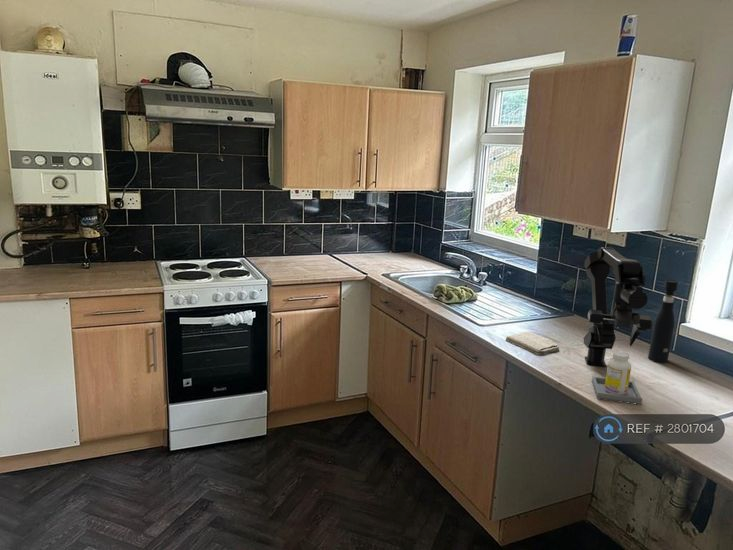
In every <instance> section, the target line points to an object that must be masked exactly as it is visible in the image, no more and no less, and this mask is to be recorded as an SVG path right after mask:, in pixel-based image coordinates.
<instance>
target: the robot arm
mask: <svg viewBox="0 0 733 550" xmlns="http://www.w3.org/2000/svg"><path fill="white" fill-rule="evenodd" d="M584 268H585V273H586V276H587V277H588V279H589V280H590V281H591V296H592V299H591V300H592V301H591V302H592V309H589V310H588V312H587V319H588V322H589V323H590V325H589V327H588V332H587V333H586V334H585V335H584V337H583V344H584V346H585V347H586V348H587V355H586V356H584V359H585V363H586V365H589V366H590V365H591V366H597V367H599V366H600V367H605V368H607V364H606V361H605V358H606V353H607V350H612V349H613V347H614V344H615V341H616V338H617V337H616V334H615V327H617V328H626V329H631V328H632V329H631V330H632V331H631V334H630V337H629V346H630V347H632V346H633V344H634V342H635V341H636V339H637V338H638V336H639V335H640V334H641V333H642V332H647V331H648V330H653V326H654V321H653V320H652V318H651V317H650V316H649V315H643V314H641V313H640V312H633V311H632V310H633V309H635V310H639V309H643V308H644V307H645V306H646V305H647V303H648V295H647V294H646V293H645V292H644V291H643V289H644V287H643V286H645V281H646V278H645V277H646V276H645V273H644V269H643V266H642V264H641V262H640V261H639V260H635V259H629V258H626V257H624V256H623V255H622V254H620V252H618V251H616V248H613V247H603V246H601V247H599V248H598V249H597V250H596V251H594V252H592V253H590V254H589V255H588V256H587V257H586V258H585V260H584ZM612 268H613V270H612V272H613V274H614V281H615V285H614V291H613V298H612V304H611V309H610V314H608V302H607V301H608V299H607V297H608V295H607V278H608V277H609V275H610V274H611V269H612ZM611 322H614V324H613V323H611ZM632 326H633V327H632Z"/></svg>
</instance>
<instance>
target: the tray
mask: <svg viewBox="0 0 733 550" xmlns="http://www.w3.org/2000/svg"><path fill="white" fill-rule="evenodd" d="M605 381H606V377H602V376H594V375H592V377H591V384H592V387H593V391H594V394H596V395H595V396H596V397H597V398H600V399H599V400H603V399H607V400H606V401H610V400H613V401H612V402H617V401H622V402H621V403H624V402H629V403H628V404H631V403H636V404H635V405H638V404H641V405H642V401H643V398H642V396H641V394H640V392H639V389H638V387H637V386H636V384H635V381H633V380H632V381H631V380H629V384H628V391H627V393H626V394H625V395H618V394H611V393H609V392H607V391H606V390H605ZM597 398H596V399H597Z"/></svg>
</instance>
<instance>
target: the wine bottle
mask: <svg viewBox="0 0 733 550" xmlns="http://www.w3.org/2000/svg"><path fill="white" fill-rule="evenodd" d="M678 284H679V282H678V281H677V280H675V279H666V280H665V282H664V290H665V294H664V296H663V299H662V302H661V307H660V309H659V311H658V313H657V314H656V316H655V318H654V321H653V326H652V332H651V333H652V334H651V339H650V343H649V350H648V355H647V358H648V360H649V361H652V362H654V363H658V362H659V363H660V364H665V363H666V364H667V362H668V359H669V354H670V351H671V344H672V339H673V334H674V327H675V314H674V311H673V310H674V304H675V302H674V299H675V297H674V293H675V292H676V291H677V289H678Z"/></svg>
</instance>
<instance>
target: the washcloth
mask: <svg viewBox="0 0 733 550" xmlns="http://www.w3.org/2000/svg"><path fill="white" fill-rule="evenodd" d="M505 340H506V341H507V342H509V343H511V344H514V345H515V344H516V345H515V346H517V345H518V347H520V348H522V349H525V350H526V349H527V351H529V352H531V353H533V354H535V353H536V354H535V355H537V354H538V356H540V355H547V354H550V353H555V352H558V351H560V346H558V343H556V342H553V341H552V340H551V339H550V338H546V337H543V336H541V335H539V334H536V333H534V332H531V331H523V332H520V333H518V334H511V335H508V336H506V337H505Z"/></svg>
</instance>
